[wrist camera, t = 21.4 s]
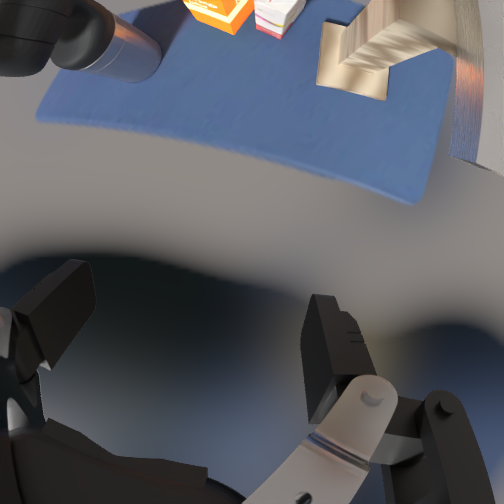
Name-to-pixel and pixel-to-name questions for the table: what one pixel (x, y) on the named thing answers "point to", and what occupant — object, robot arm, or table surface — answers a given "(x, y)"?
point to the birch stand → (383, 43)
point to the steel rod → (479, 85)
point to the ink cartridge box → (277, 15)
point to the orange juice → (221, 12)
